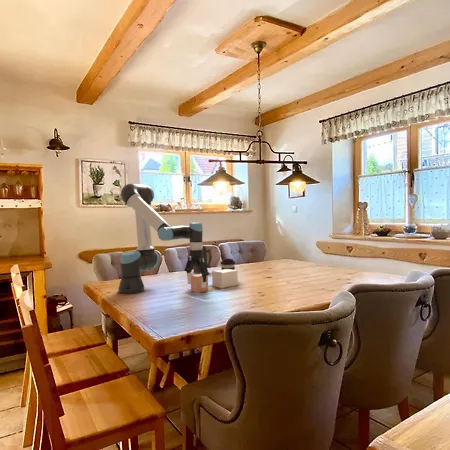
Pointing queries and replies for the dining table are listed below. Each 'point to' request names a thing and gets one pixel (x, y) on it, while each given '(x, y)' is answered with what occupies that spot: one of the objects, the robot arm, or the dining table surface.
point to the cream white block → (224, 278)
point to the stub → (198, 283)
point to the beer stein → (205, 259)
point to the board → (214, 288)
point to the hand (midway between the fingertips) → (196, 285)
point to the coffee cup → (228, 264)
